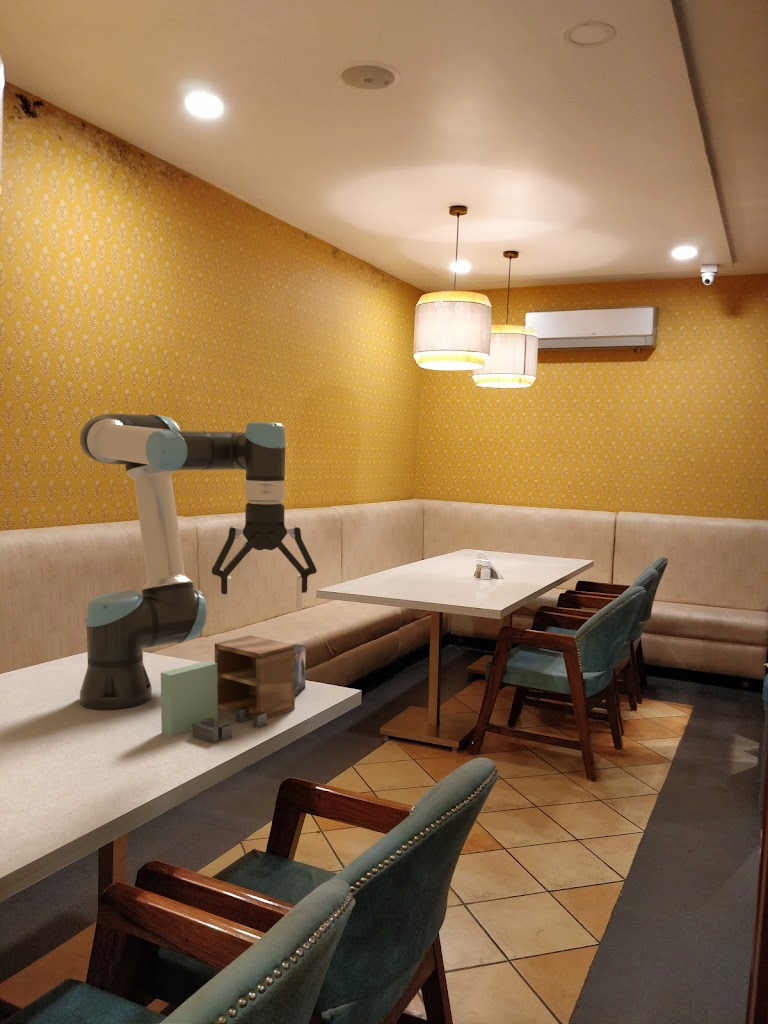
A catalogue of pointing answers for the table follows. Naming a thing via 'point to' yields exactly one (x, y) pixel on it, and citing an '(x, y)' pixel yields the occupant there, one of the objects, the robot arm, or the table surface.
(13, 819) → the table surface
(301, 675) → the small box
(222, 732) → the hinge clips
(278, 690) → the cabinet
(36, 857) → the table surface
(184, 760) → the table surface
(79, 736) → the table surface
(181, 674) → the door
